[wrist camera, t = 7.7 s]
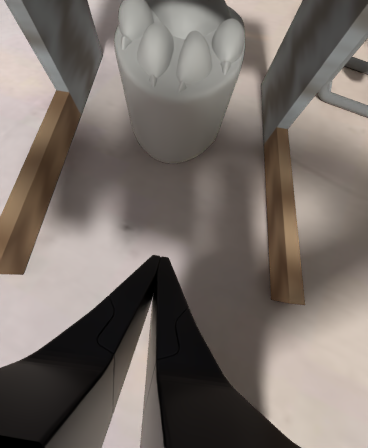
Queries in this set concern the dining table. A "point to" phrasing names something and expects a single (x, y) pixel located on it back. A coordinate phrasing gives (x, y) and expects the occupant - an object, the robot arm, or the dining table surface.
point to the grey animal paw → (178, 72)
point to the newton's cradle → (339, 100)
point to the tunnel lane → (271, 108)
